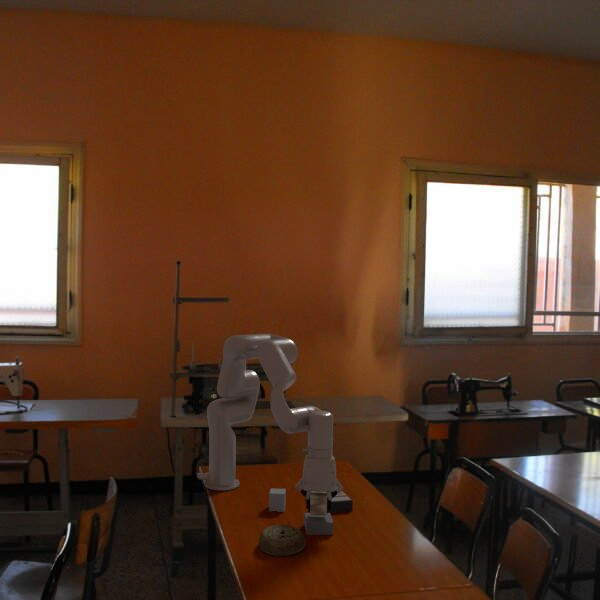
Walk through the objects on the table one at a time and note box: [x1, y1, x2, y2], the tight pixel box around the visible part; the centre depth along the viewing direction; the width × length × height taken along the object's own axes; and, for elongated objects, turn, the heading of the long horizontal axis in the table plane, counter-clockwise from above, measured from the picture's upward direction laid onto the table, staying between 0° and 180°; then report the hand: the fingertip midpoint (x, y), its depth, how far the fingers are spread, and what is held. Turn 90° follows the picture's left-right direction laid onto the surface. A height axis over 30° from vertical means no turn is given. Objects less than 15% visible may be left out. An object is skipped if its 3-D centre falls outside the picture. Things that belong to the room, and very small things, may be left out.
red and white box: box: [310, 486, 354, 514], centre depth 231 cm, size 11×4×15 cm
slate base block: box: [303, 512, 334, 536], centre depth 209 cm, size 8×8×4 cm
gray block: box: [268, 488, 287, 513], centre depth 226 cm, size 5×5×6 cm
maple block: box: [310, 491, 327, 516], centre depth 209 cm, size 5×5×6 cm
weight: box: [258, 524, 307, 557], centre depth 196 cm, size 14×13×5 cm
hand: (318, 510), depth 209 cm, fingers closed on maple block, 4 cm apart
